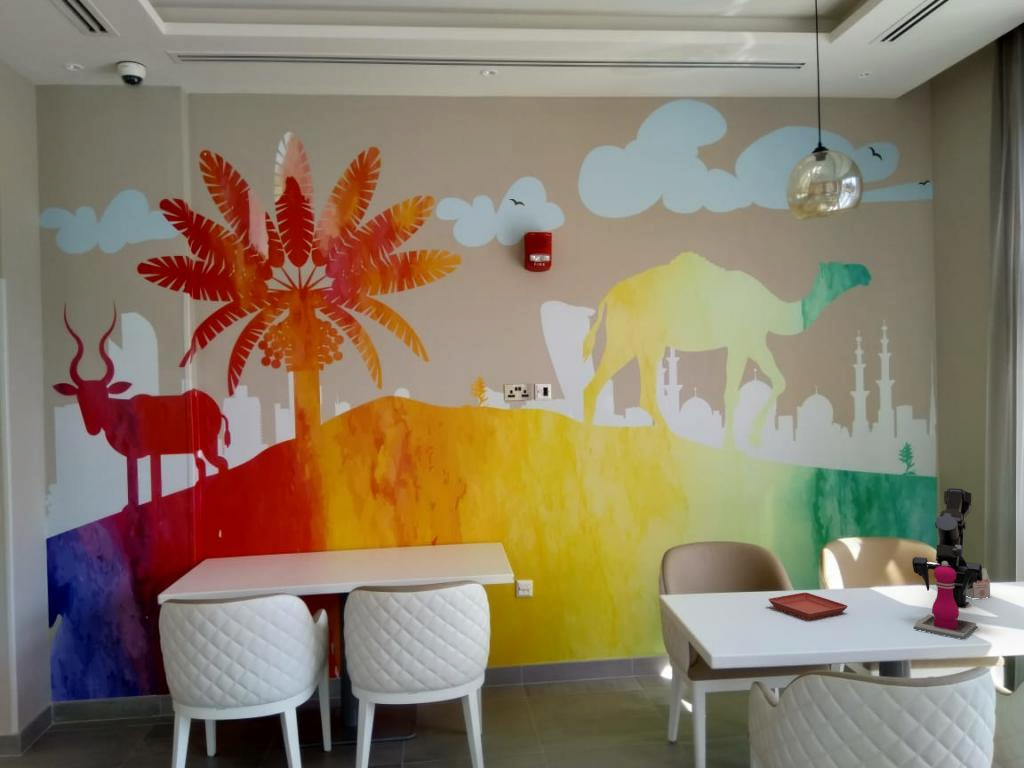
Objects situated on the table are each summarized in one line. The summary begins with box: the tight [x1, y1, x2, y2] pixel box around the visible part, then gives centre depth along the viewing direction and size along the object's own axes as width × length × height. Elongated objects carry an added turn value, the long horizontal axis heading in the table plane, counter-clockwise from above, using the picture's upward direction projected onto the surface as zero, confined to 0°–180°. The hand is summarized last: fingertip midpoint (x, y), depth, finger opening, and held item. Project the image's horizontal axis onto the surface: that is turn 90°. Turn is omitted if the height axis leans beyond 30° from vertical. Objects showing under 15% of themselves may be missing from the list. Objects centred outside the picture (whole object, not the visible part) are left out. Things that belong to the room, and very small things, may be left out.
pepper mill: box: [931, 561, 960, 629], centre depth 237 cm, size 7×7×20 cm
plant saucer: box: [767, 592, 849, 620], centre depth 257 cm, size 18×18×3 cm
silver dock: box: [912, 614, 979, 640], centre depth 236 cm, size 14×14×2 cm
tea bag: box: [966, 567, 991, 598], centre depth 270 cm, size 4×7×10 cm, turn 101°
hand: (945, 592), depth 236 cm, fingers open, 9 cm apart
